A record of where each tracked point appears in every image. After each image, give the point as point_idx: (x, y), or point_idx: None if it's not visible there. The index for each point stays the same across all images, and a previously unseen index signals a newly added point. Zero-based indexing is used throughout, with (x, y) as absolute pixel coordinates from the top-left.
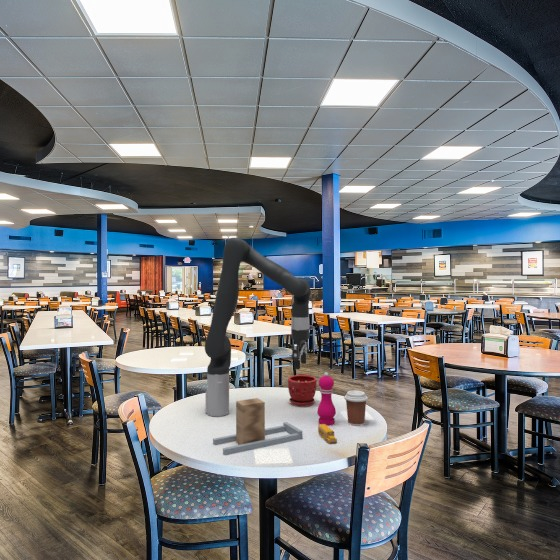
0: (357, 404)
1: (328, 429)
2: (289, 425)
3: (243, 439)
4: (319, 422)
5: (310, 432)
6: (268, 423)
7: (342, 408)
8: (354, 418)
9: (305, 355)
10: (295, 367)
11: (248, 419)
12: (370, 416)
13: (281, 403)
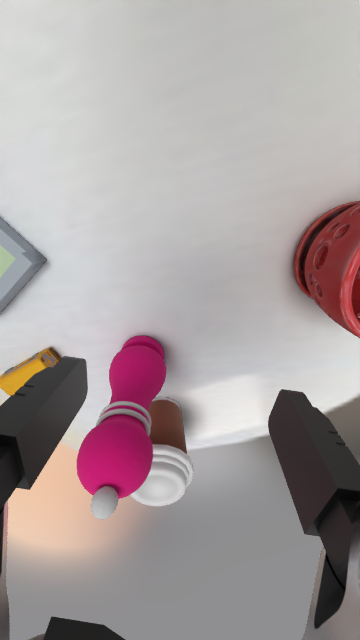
0: None
1: (13, 385)
2: (4, 279)
3: None
4: (128, 340)
5: (58, 325)
6: (83, 177)
7: (279, 377)
8: None
9: (305, 528)
10: (43, 374)
11: None
12: (218, 433)
13: (344, 165)
